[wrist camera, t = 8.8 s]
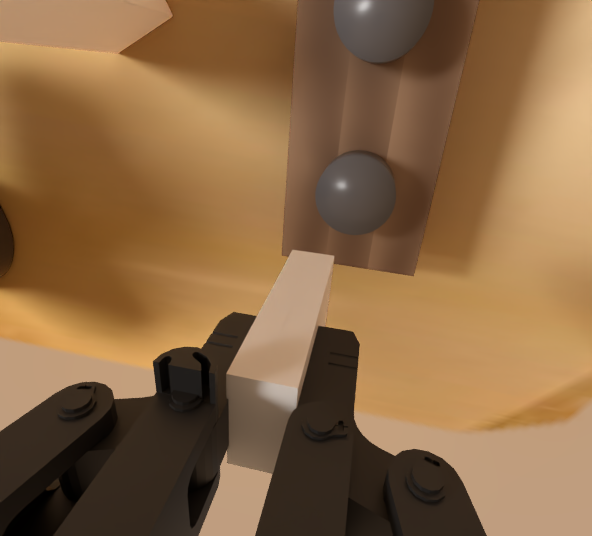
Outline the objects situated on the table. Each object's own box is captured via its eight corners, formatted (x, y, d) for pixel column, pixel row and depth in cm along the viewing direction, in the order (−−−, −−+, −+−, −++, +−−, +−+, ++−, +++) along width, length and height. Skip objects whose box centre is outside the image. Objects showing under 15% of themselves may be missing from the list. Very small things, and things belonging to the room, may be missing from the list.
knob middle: (341, 63, 27) (328, 58, 21) (351, -25, 25) (339, -57, 19) (414, 68, 26) (422, 65, 21) (431, -21, 24) (445, -54, 18)
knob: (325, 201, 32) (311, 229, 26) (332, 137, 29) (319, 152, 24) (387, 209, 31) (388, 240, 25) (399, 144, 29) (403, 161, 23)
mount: (297, 229, 35) (281, 255, 30) (342, -324, 21) (327, -460, 16) (409, 245, 34) (413, 276, 29) (539, -339, 20) (596, -495, 14)
